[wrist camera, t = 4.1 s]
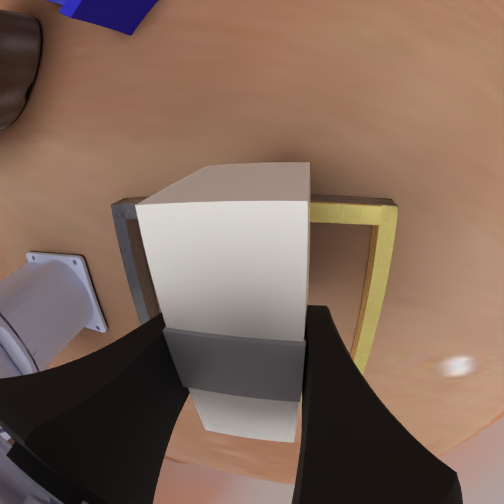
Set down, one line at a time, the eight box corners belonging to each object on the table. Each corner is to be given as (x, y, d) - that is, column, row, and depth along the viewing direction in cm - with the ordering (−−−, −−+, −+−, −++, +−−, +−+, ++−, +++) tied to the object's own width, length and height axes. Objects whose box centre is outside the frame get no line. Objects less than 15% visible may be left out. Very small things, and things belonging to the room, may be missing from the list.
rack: (166, 367, 25) (159, 380, 23) (123, 198, 18) (108, 206, 16) (353, 387, 21) (353, 404, 20) (391, 199, 15) (400, 207, 13)
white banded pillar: (231, 354, 14) (203, 432, 9) (205, 165, 10) (129, 207, 5) (305, 360, 13) (294, 445, 9) (311, 162, 9) (310, 203, 5)
